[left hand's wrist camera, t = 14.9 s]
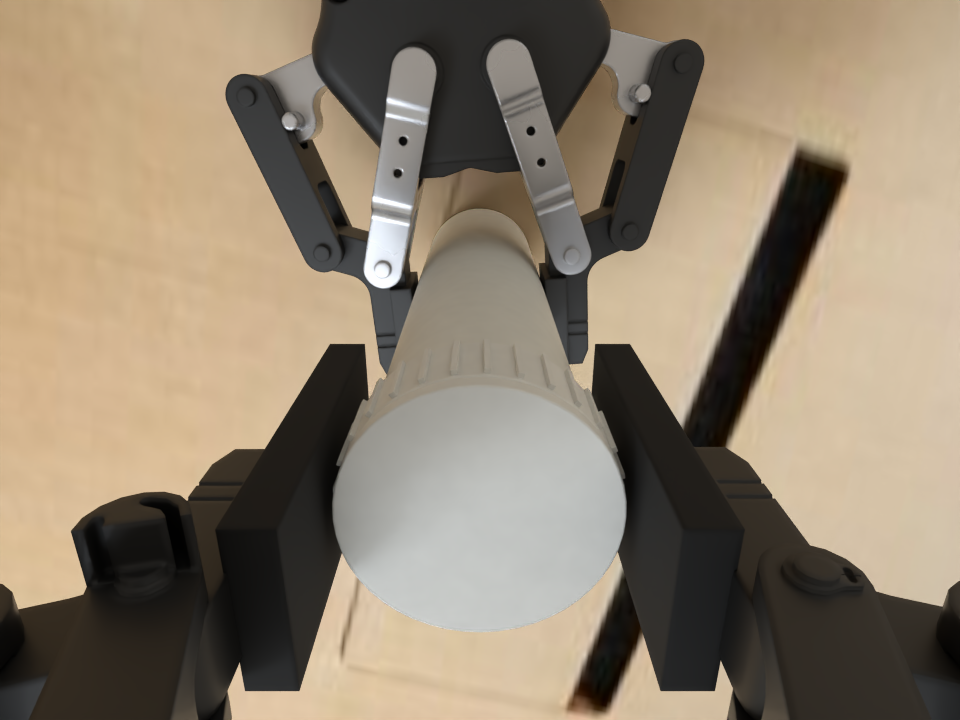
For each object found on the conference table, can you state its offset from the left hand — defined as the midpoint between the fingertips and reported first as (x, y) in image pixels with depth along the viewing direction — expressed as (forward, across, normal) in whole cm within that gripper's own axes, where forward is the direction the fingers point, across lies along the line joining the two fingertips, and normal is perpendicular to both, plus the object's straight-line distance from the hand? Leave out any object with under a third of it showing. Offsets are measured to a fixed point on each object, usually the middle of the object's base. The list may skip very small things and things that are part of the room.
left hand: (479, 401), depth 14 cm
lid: (-4, 0, 0) cm, 4 cm away
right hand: (+8, 0, -3) cm, 8 cm away
